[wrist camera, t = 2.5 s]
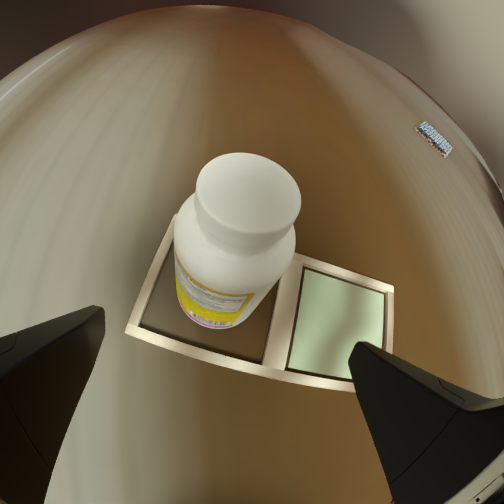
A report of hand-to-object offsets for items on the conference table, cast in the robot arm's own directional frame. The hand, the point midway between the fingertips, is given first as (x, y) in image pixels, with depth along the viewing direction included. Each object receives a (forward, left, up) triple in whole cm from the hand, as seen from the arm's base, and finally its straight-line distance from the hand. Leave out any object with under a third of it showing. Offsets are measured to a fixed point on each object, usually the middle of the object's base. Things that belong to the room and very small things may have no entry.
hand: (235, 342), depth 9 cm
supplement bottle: (+3, +6, -13) cm, 14 cm away
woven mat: (+65, +25, -13) cm, 71 cm away
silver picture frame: (+8, +2, -12) cm, 15 cm away
